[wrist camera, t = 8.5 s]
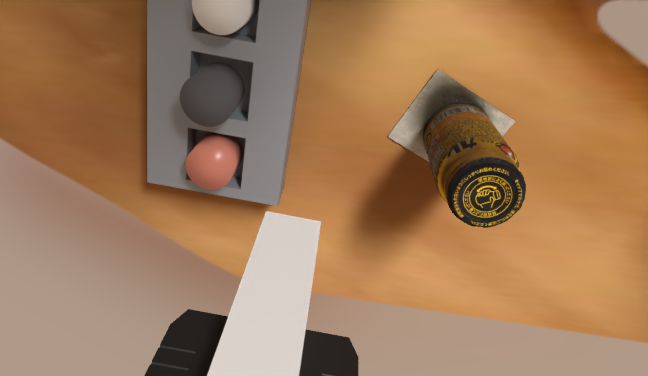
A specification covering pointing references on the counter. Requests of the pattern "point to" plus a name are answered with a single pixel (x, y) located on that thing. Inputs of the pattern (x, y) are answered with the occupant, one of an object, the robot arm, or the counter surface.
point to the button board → (250, 115)
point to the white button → (224, 14)
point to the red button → (214, 160)
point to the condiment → (464, 151)
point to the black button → (212, 94)
